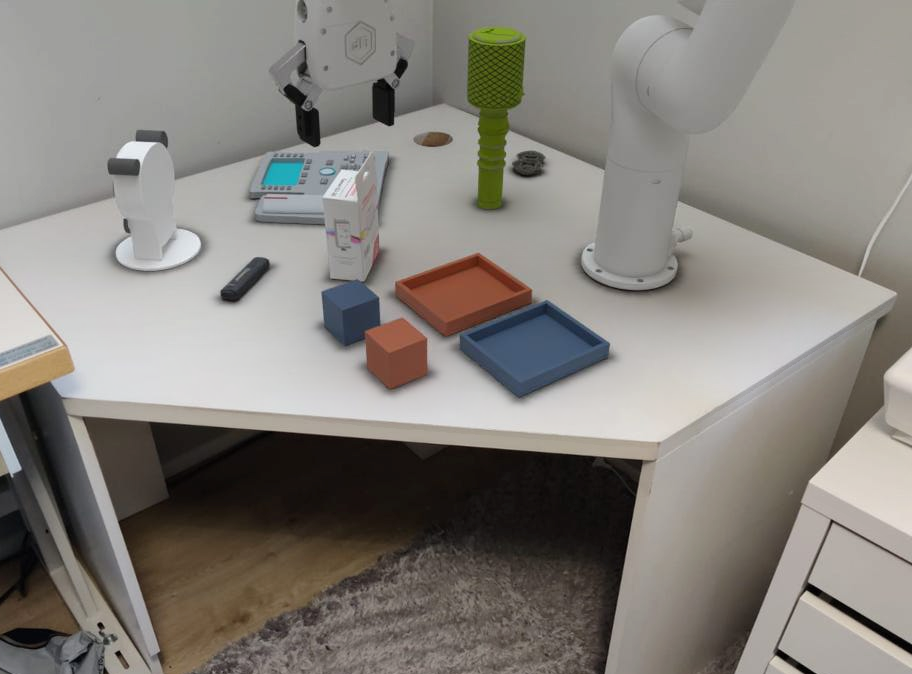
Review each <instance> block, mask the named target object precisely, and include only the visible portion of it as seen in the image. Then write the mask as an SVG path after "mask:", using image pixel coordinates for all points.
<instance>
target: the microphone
mask: <svg viewBox="0 0 912 674" xmlns="http://www.w3.org/2000/svg"><path fill="white" fill-rule="evenodd" d="M526 40H527V36H526V34H525V33H523V32H522V31H521V32H520V31H518V29H517V30H516V29H515V28H511V27H506V26H486V27H482V28H479V29H476V30H474V31H472V32H470V33H469V34H468V40H467V41H468V42H467V43H468V44H467V45H468V47H467V80H466V81H467V83H466V84H467V86H466V97H467V98H466V99H467V102H468V104H469V105H470V106H472V107H473V108H475V109H478V110H480V111H479V112H478V114H479V117H478V122H477V125H478V127H477V132H478V135H479V138H478V141H477V145H479V150H478V151H477V156H478V159H477V160H476V165H477V166H478V175H477V176H478V178H477V206H478V207H479V208H481V209H485V210H495V209H499V208H500V207H502V203H503V190H504V189H503V187H504V173H505V171H504V170H505V167H506V165H507V162H506V160H505V159H506V157H507V151H506V150H505V148H506V146H507V144H508V143H507V140H506V136H507V135H508V133H509V131H510V124H509V117H508V115H509V112H508V111H509V110H512V109H515V108H516V107H518V106H520V104H522V99H523V96H526V92H524V86H523V85H524V69H525V54H526Z"/></svg>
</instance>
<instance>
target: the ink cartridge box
mask: <svg viewBox="0 0 912 674" xmlns="http://www.w3.org/2000/svg"><path fill="white" fill-rule="evenodd" d="M367 169H368V172H365V170H367ZM322 200H323V208H324V218H325V224H324V227H325V237H326V246H327V247H326V248H327V257H328V266H329V278H330V279H332V280H343V281H353V280H356V279H358V280H359V281H360V282H362V283H363V282H365V281H366V280H367V277H368V275H369V273H370V271H371V269H372V267H373V265H374V263H375V261H376V259H377V257H378V254H379V252H380V249H381V247H380V227H379V225H380V224H379V207H378V202H377V179H376V170H375V163H374V156H373V152H371V153H370V154H369V156H368V157H367V159H366V160H365V162H364V163H363V165H362V166H361V168H360V170H359V171H351V170H341V171H340V172H339V174H338V175H337V177H336V178H335V180H334V181H333V183H332V184H331V186H330V187H329V188H328V190H327V191H326V193H325V194H324V196H323V197H322Z"/></svg>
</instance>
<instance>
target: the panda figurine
mask: <svg viewBox="0 0 912 674" xmlns="http://www.w3.org/2000/svg"><path fill="white" fill-rule="evenodd" d="M134 138H135V141H134V140H133V141H131V140H130V141H129V142H127V143H125V144H124V145H123V146H122V147H121V148H120V150H119V151H118V153H117V155H116V157H109V159H108V160H107V163H106V165H107V166H106V167H107V171H108V175H111V176H112V193H113V196H114V199H115V202H116V203H115V204H116V205H117V209H118V210H119V212H120V215H122V217H123V218H122V219H123V220H122V225H123V230H124V232H125V233H126V234H130V236H128V237H127V238H125V239H124V240H123V241H121V242H120V243H119V244H118V245H117V247H116V249H115V257H116V260H117V262H118V263H119V264H121V265H122V266H124V267H125V268H128V269H131V270H134V271H141V272H142V271H143V272H153V271H156V272H157V271H164V270H169V269H173V268H176V267H179V266H182V265H184V264H186V263H188V262H190V261H192V260H193V259H194V258H195V257H196V256H197V255H198V254H199V253H200V251H201V248H202V242H201V239H200V237H199V236H198V235H197V234H196V233H194V232H191V231H190V230H187V229H184V228H177V222H176V215H175V210H174V203H173V200H174V193H175V169H174V164H173V160H172V158H171V154H170V152H169V151H168V147H169V137H168V134H167V132H166V131H165V130H156V129H155V130H152V129H137V130H136V132H135V137H134Z"/></svg>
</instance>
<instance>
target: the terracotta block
mask: <svg viewBox="0 0 912 674" xmlns="http://www.w3.org/2000/svg"><path fill="white" fill-rule="evenodd" d="M364 341H365V356H366V357H365V358H366V359H365V360H366V368H367V369H368V370H369V371H370V372H371V373H372V374H373V375H374V376H375V377H377V378H378V380H380V382H381V383H383V384H384V385H385V386H386V387H387V388H388V389H389V390H393V389H395V388H398V387H400V386H403V385H405V384H408V383H410V382H413V381H414V380H417V379H420V378H422V377H424V376H426V375H428V337H427V336H426V335H424V333H422V332H421V331H420V330H419V329H417V328H416V326H414V325H413V324H411V323H410V322H409V321H408V320H407V319H405V317H403V316H402V317H399V318H397V319H394V320H392V321H389V322H385V323H383V324H380V326H378V327H375V328H372V329H370V330H367V331H365V339H364Z"/></svg>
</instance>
